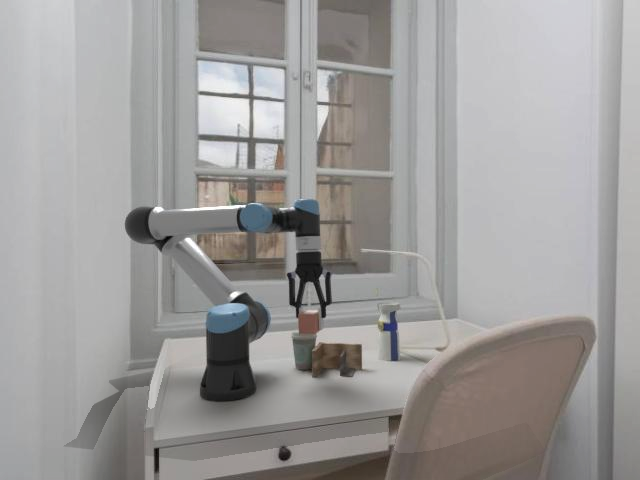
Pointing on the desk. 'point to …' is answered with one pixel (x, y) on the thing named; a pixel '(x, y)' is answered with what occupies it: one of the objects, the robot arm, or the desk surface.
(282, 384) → the desk surface
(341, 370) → the shelf
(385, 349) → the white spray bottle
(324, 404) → the desk surface
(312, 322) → the red box
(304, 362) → the coffee cup
